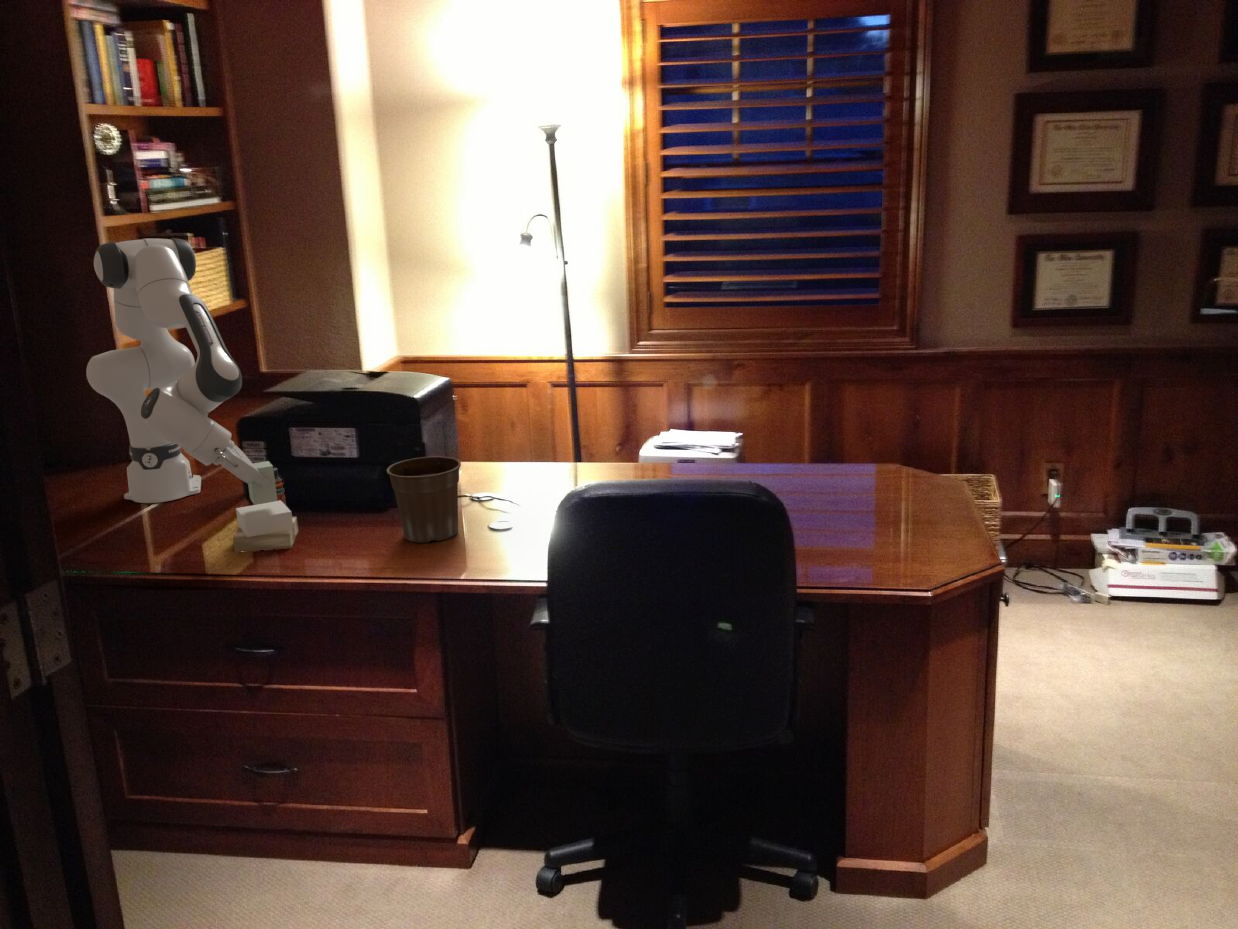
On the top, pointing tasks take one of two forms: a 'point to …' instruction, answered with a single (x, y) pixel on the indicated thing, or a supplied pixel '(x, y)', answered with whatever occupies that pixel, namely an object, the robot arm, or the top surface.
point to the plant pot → (427, 497)
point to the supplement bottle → (279, 487)
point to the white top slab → (264, 518)
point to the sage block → (258, 491)
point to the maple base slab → (266, 540)
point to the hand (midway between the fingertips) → (264, 480)
